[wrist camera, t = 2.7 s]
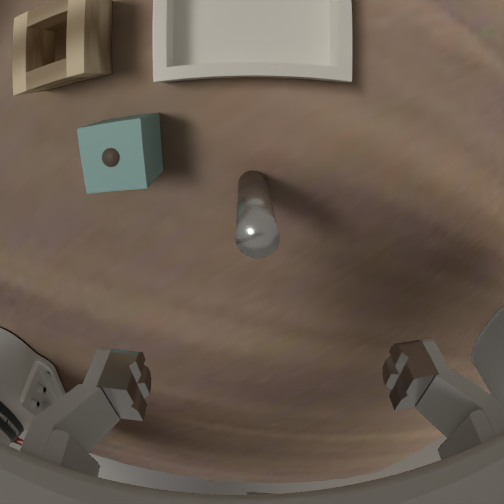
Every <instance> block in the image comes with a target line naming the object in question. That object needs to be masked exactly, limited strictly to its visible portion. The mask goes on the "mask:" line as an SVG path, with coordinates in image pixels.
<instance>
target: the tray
mask: <svg viewBox="0 0 504 504" xmlns="http://www.w3.org/2000/svg"><path fill="white" fill-rule="evenodd" d="M245 77H263V78H295V79H311V80H323V81H333V82H352V4H351V0H153V82H161V83H165V82H174V81H185V80H197V79H213V78H245Z"/></svg>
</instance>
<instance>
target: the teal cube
mask: <svg viewBox="0 0 504 504" xmlns="http://www.w3.org/2000/svg"><path fill="white" fill-rule="evenodd" d="M77 132H78V140H79V148H80V156H81V163H82V169H83V175H84V181H85V187H86V192H87V193H97V192H107V191H119V190H131V189H145V188H148V187H149V186H150V185H151V184H152V182H153V181H154V180H155V179H156V178H157V177H158V176H159V175H160V174H161V173H162V172H163V170H164V169H163V158H162V146H161V133H160V118H159V113H151V114H143V115H135V116H128V117H121V118H115V119H109V120H103V121H100V122H97V123H93V124H90V125H87V126H84V127H81V128H77Z"/></svg>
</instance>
